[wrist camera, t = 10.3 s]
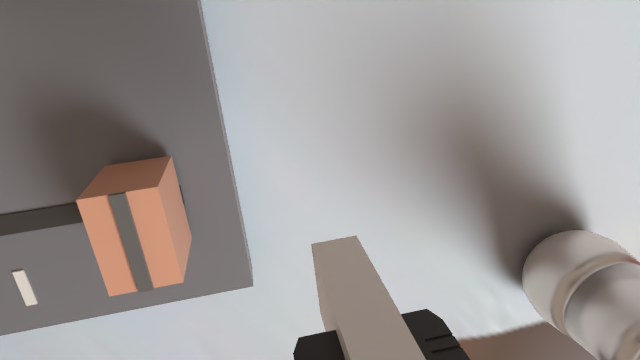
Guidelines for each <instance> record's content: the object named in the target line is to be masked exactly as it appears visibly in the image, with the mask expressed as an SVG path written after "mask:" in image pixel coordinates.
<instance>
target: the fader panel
mask: <svg viewBox="0 0 640 360" xmlns="http://www.w3.org/2000/svg"><path fill="white" fill-rule="evenodd" d="M165 156H172V159H173V163H174V168H175V172H176V176H177V180H178V184H179V188H180V192H181V196H182V200H183V204H184V208H185V212H186V216H187V220H188V224H189V228H190V232H191V236H192V240H191V245H190V250H189V255H188V260H187V266H186V271H185V276H184V281H183V283H178V284H173V285H167V286H162V287H157V288H154V290H151V291H146V292H141V293H138V291H136V292H131V293H125V294H120V295H115V296H110V297H109V294H108V291H107V288H106V286H105V283H104V280H103V277H102V274H101V271H100V268H99V265H98V262H97V260H96V257H95V254H94V251H93V248H92V245H91V242H90V239H89V237H88V234H87V231H86V228H85V225H84V222H83V219H82V216H81V213H80V211H79V208H78V205H77V202H76V199H77V198H78V197H79V196H80V195H81V193H82V192H83V191H84V190H85V189H86V188H87V186H88V185H89V184H90V183H91V182H92V180H93V179H94V178H95V177H96V176H97V175H98V173H99V172H100V171H101V170H102V169H103V167H104V166H107V165H114V164H120V163H127V162H133V161H140V160H146V159H152V158H159V157H165ZM252 286H253V274H252V264H251V259H250V254H249V249H248V244H247V239H246V233H245V228H244V223H243V218H242V213H241V208H240V203H239V197H238V192H237V187H236V182H235V177H234V172H233V167H232V161H231V156H230V151H229V146H228V141H227V136H226V131H225V125H224V120H223V115H222V110H221V105H220V100H219V95H218V89H217V84H216V79H215V74H214V69H213V64H212V59H211V53H210V48H209V43H208V38H207V33H206V28H205V23H204V17H203V12H202V7H201V2H200V0H0V336H1V335H6V334H11V333H16V332H22V331H27V330H32V329H37V328H42V327H47V326H52V325H57V324H62V323H68V322H73V321H78V320H83V319H88V318H93V317H98V316H103V315H108V314H114V313H119V312H124V311H129V310H134V309H139V308H144V307H149V306H154V305H160V304H165V303H170V302H175V301H180V300H185V299H190V298H195V297H200V296H206V295H211V294H216V293H221V292H226V291H231V290H236V289H241V288H246V287H252Z"/></svg>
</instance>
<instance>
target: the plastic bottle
mask: <svg viewBox="0 0 640 360" xmlns="http://www.w3.org/2000/svg"><path fill="white" fill-rule="evenodd" d="M522 281H523V289H524V292H525V294H526V297H527V298H528V300H529V301H530V303H531V304H532V306H533V307H534V309H535V310H536V311H537V313H538V314H539V315H540V316H541V317H542V318H543V319H545V320H546V321H547V322H549V323H550V324H551V325H553V326H554V327H555V328H556V329H558V330H559V331H561V332H562V333H564V334H565V335H567V336H569V337H570V338H572V339H574V340H575V341H576V342H578V343H579V344H580V345H581V346H582V347H584V348H585V349H586V350H587V351H588V352H590V353H591V354H592V355H593V356H594V357H596V358H597V359H598V360H640V262H639V261H638V260H637V259H635V258H634V257H633V256H632V255H631V254H630V253H628V252H627V251H626V250H625V249H624V248H622V247H621V246H620V245H619V244H617V243H616V242H614V241H612V240H610V239H608V238H605V237H603V236H600V235H598V234H595V233H593V232H589V231H585V230H573V231H565V232H559V233H556V234H554V235H551V236H549V237H547V238H546V239H544V240H543V241H541V242H540V243H539V244H538V245H537V246H536V247H535V248H534V249H533V250H532V251H531V253H530V254H529V255H528V257H527V259H526V261H525V263H524V267H523V275H522Z"/></svg>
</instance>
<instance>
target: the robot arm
mask: <svg viewBox="0 0 640 360" xmlns="http://www.w3.org/2000/svg"><path fill="white" fill-rule="evenodd" d="M311 245H312V253H313V260H314V268H315V275H316V282H317V290H318V297H319V305H320V312H321V316H322V320H323V323H324V327H325V330H326V332H323V333H318V334H314V335H309V336H304V337H300V338H298V341H297V344H296V347H295V350H294V353H293V355H294V360H470V359H469V357H468V356H467V355H466V353H465V352H464V350H463V349H462V348H461V347H460V344H459V343H458V341H457V340H456V338H455V337H454V336H452V333H451V331H450V330H449V328H448V327H447V325H446V324H445V323H444V321H443V320H442V319H441V318H440V317H438V316H437V315H435V314H434V313H432V312H431V311H429V310H428V309H424V310H419V311H414V312H410V313H405V314H400V312H399V311H398V309H397V307H396V305H395V304H394V302H393V300H392V298H391V296H390V295H389V293H388V291H387V289H386V288H385V286H384V284H383V282H382V280H381V279H380V277H379V275H378V273H377V272H376V270H375V268H374V266H373V264H372V263H371V261H370V259H369V257H368V256H367V254H366V252H365V250H364V248H363V247H362V245H361V243H360V241H359V240H358V238H357V236H351V237H346V238H341V239H335V240H330V241H325V242H320V243H314V244H311Z"/></svg>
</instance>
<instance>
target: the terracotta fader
mask: <svg viewBox="0 0 640 360" xmlns="http://www.w3.org/2000/svg"><path fill="white" fill-rule="evenodd" d="M76 202H77V205H78V208H79V211H80V213H81V216H82V219H83V222H84V225H85V228H86V231H87V234H88V237H89V239H90V242H91V245H92V248H93V251H94V254H95V257H96V260H97V262H98V265H99V268H100V271H101V274H102V277H103V280H104V283H105V286H106V288H107V291H108V294H109V297H110V296H115V295H120V294H125V293H131V292H136V291H138V293H141V292H146V291H151V290H154V288H157V287H162V286H167V285H173V284H178V283H183V281H184V276H185V271H186V266H187V260H188V255H189V250H190V245H191V240H192V236H191V232H190V228H189V224H188V220H187V216H186V212H185V208H184V204H183V200H182V196H181V192H180V188H179V184H178V180H177V176H176V172H175V168H174V163H173V159H172V156H165V157H159V158H152V159H146V160H140V161H133V162H127V163H120V164H114V165H107V166H104V167H103V169H102V170H101V171H100V172H99V173H98V175H97V176H96V177H95V178H94V179H93V180H92V182H91V183H90V184H89V185H88V186H87V188H86V189H85V190H84V191H83V192H82V193H81V195H80V196H79V197H78V198H77V199H76Z"/></svg>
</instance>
